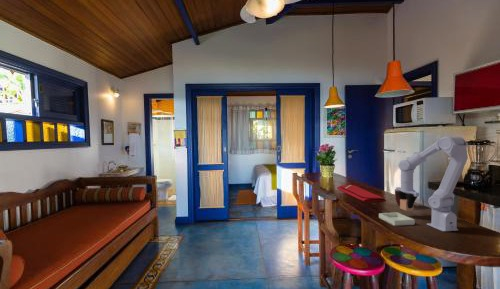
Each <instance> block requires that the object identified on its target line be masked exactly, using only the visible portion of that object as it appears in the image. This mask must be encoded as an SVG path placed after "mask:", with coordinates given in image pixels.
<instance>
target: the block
mask: <svg viewBox="0 0 500 289" xmlns="http://www.w3.org/2000/svg"><path fill="white" fill-rule="evenodd" d="M414 205H415V204H414ZM414 205H413V208H408V202H407V199H400V206H399V209H400V210H403V211H407V212H408V211H409V212H410V211H414V210H415V209H414V207H415V206H414Z"/></svg>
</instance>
